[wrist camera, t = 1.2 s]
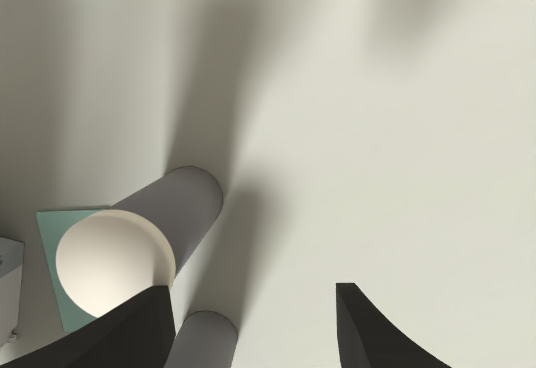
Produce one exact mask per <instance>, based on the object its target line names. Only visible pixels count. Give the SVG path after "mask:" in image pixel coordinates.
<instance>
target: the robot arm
mask: <svg viewBox="0 0 536 368" xmlns="http://www.w3.org/2000/svg"><path fill="white" fill-rule="evenodd" d="M336 310H337V338H338V347H339V355H340V362H341V367H342V368H451V367H450V366H448V365H447V364H445V363H443V362H442V361H440V360H439V359H437V358H436V357H434V356H433V355H431V354H430V353H428V352H427V351H425V350H424V349H423V348H421V347H420V346H419V345H417V344H416V343H415V342H413V341H412V340H411V339H410V338H408V337H407V336H406V335H405V334H403V333H402V332H401V331H400V330H399V329H398V328H397V327H395V326H394V325H393V324H392V323H391V322H390V321H389V320H388V319H387V318H386V317H385V316H384V315H383V314H382V313H381V312H380V311H379V310H378V309H377V308H376V307H375V306H374V305H373V304H372V302H371V301H370V300H369V299H368V298H367V297H366V296H365V295H364V293H363V292H362V291H361V290H360V289H359V287H358V286H357V285H356V284H355V283H336ZM175 336H176V332H175V325H174V319H173V312H172V306H171V299H170V293H169V286H168V285H167V286H151V287H149V288H147V289H145V290H143V291H141V292H140V293H138V294H136V295H135V296H133V297H131V298H130V299H128V300H127V301H125V302H123V303H122V304H120V305H119V306H117V307H115V308H114V309H112V310H110V311H109V312H107V313H106V314H104V315H102V316H101V317H99V318H97V319H95V320H94V321H92V322H90V323H88V324H87V325H85V326H83V327H82V328H80V329H78V330H76V331H75V332H73V333H71V334H69V335H67V336H65V337H63V338H61V339H59V340H57V341H55V342H53V343H51V344H49V345H47V346H45V347H43V348H41V349H38V350H36V351H34V352H32V353H29V354H27V355H24V356H22V357H20V358H17V359H15V360H12V361H10V362H8V363H5V364H3V365H0V368H164V366H165V364H166V362H167V359H168V356H169V353H170V351H171V348H172V345H173V342H174V339H175Z"/></svg>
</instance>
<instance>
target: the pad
mask: <svg viewBox="0 0 536 368" xmlns="http://www.w3.org/2000/svg"><path fill="white" fill-rule="evenodd" d="M104 210H106V209H97V210H72V211H46V212H36V213H35V215H36V219H37V223H38V227H39V231H40V235H41V239H42V243H43V247H44V251H45V256H46V260H47V264H48V268H49V272H50V276H51V280H52V284H53V288H54V292H55V297H56V301H57V305H58V309H59V313H60V317H61V321H62V325H63V329H64V332H75V331H76V330H78V329H80V328H82V327H83V326H85V325H87V324H88V323H90V322H92V321H94V320H95V319H97V317H95V316H93V315H91V314H89V313H87V312H86V311H84V310H83V309H81V308H80V307H79V306H78V305H77V304H76V303H75V302H74V301H73V300H72V299H71V298H70V297H69V296H68V294H67V293H66V292H65V290H64V288H63V286H62V284H61V282H60V280H59V277H58V274H57V269H56V252H57V248H58V245H59V243H60V240H61V238H62V237H63V235H64V234H65V233H66V231H67V230H68V229H69V228H70V227H72V226H73V225H74V224H76V223H78V222H79V221H81V220H83V219H85V218H86V217H88V216H90V215H92V214H94V213H97V212H100V211H104Z"/></svg>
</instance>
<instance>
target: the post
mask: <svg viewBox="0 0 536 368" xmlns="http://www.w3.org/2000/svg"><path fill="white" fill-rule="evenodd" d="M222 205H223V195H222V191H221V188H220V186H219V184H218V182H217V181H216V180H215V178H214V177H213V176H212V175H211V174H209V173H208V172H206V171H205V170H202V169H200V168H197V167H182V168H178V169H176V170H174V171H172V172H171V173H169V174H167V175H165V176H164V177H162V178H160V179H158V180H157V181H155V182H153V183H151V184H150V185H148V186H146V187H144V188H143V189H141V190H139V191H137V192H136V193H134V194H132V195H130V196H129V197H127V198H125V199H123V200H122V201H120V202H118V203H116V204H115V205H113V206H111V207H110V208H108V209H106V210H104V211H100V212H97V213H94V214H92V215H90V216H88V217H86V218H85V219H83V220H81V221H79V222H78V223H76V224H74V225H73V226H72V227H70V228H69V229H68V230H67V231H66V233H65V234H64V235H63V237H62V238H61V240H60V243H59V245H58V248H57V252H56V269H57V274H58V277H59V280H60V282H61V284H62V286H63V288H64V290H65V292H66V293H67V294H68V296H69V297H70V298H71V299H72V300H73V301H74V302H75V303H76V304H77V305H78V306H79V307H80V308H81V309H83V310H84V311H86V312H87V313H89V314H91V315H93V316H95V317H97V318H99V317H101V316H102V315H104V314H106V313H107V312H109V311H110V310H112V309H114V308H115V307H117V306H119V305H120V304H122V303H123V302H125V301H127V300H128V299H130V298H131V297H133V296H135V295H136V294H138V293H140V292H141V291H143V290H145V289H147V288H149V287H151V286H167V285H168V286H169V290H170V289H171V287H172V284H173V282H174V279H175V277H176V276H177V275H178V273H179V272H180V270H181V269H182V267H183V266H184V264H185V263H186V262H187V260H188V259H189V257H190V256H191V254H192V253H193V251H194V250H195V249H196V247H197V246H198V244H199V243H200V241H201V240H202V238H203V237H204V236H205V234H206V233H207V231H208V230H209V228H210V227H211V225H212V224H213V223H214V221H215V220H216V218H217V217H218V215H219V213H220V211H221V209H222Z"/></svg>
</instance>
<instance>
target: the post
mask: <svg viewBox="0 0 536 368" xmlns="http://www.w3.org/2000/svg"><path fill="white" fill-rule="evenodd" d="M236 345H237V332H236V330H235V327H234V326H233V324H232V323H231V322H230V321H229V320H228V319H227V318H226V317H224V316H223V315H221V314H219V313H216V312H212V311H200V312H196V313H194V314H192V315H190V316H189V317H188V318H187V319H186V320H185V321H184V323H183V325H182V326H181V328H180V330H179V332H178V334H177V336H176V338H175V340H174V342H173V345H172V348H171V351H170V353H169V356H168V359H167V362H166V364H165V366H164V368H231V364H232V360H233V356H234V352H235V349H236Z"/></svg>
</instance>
